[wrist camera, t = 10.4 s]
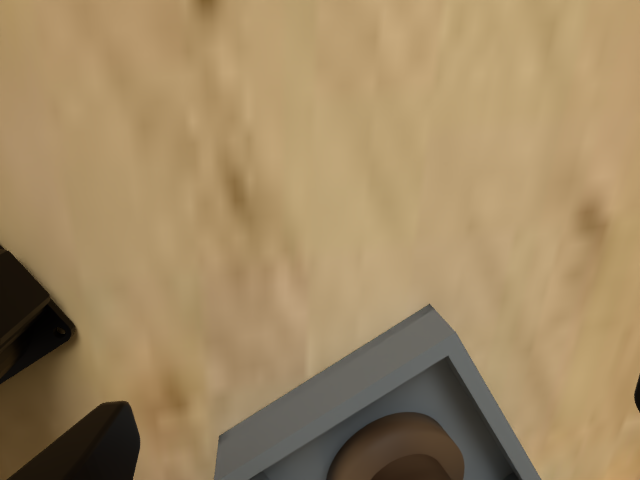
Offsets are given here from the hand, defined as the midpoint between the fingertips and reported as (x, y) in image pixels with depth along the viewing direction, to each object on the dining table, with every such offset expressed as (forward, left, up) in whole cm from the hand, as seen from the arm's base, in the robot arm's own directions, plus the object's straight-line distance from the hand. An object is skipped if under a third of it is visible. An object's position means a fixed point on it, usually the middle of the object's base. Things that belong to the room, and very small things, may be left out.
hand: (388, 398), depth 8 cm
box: (-3, -13, -13) cm, 19 cm away
